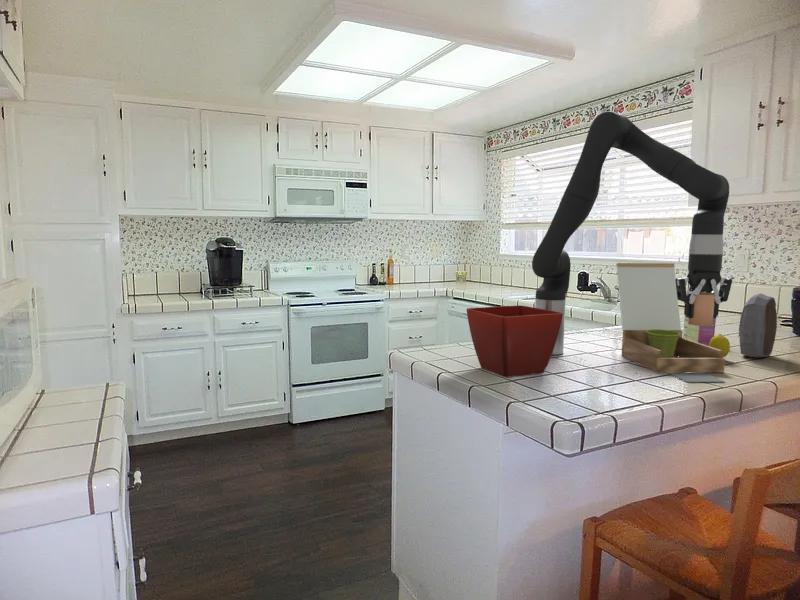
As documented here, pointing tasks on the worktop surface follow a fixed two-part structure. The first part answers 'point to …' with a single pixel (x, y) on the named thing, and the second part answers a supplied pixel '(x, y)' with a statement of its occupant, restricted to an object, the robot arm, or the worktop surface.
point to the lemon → (720, 344)
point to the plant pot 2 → (663, 341)
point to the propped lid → (648, 296)
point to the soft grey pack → (758, 326)
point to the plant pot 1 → (514, 338)
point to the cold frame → (691, 354)
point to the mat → (697, 378)
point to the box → (698, 332)
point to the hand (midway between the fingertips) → (700, 317)
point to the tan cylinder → (703, 310)
